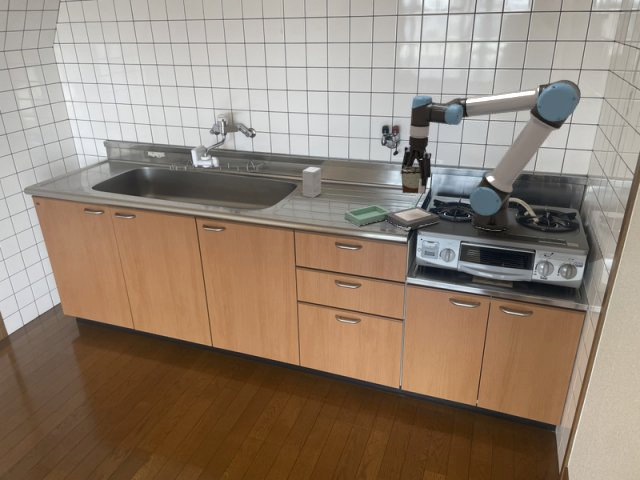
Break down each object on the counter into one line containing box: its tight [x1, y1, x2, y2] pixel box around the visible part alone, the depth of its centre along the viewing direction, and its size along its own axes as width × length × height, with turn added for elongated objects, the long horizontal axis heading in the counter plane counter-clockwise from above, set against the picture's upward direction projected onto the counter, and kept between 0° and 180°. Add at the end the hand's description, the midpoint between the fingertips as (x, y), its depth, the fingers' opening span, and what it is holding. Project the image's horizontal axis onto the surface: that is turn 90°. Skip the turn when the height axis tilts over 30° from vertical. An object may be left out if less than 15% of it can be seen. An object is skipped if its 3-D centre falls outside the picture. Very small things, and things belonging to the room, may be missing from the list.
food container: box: [399, 165, 429, 195], centre depth 206 cm, size 12×6×10 cm, turn 81°
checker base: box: [384, 206, 440, 231], centre depth 212 cm, size 14×18×4 cm
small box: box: [301, 166, 322, 199], centre depth 242 cm, size 8×6×13 cm
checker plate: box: [394, 209, 431, 222], centre depth 211 cm, size 9×13×1 cm
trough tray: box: [344, 204, 392, 226], centre depth 216 cm, size 11×17×3 cm, turn 121°
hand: (414, 189), depth 207 cm, fingers closed on food container, 8 cm apart
